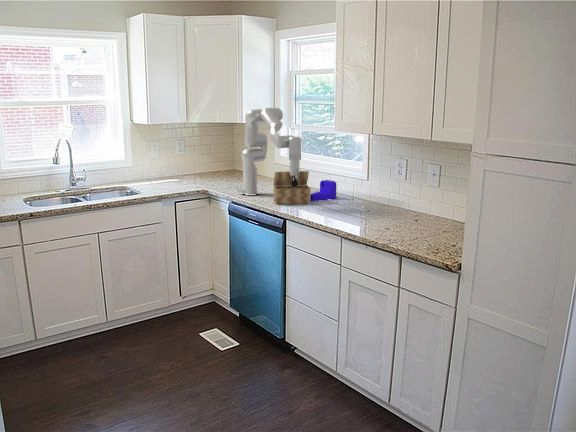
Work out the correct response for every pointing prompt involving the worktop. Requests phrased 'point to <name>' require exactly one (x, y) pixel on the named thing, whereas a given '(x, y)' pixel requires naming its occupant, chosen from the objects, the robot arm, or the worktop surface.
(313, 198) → the bracket
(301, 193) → the open wooden box
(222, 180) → the worktop surface
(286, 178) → the lid flap
